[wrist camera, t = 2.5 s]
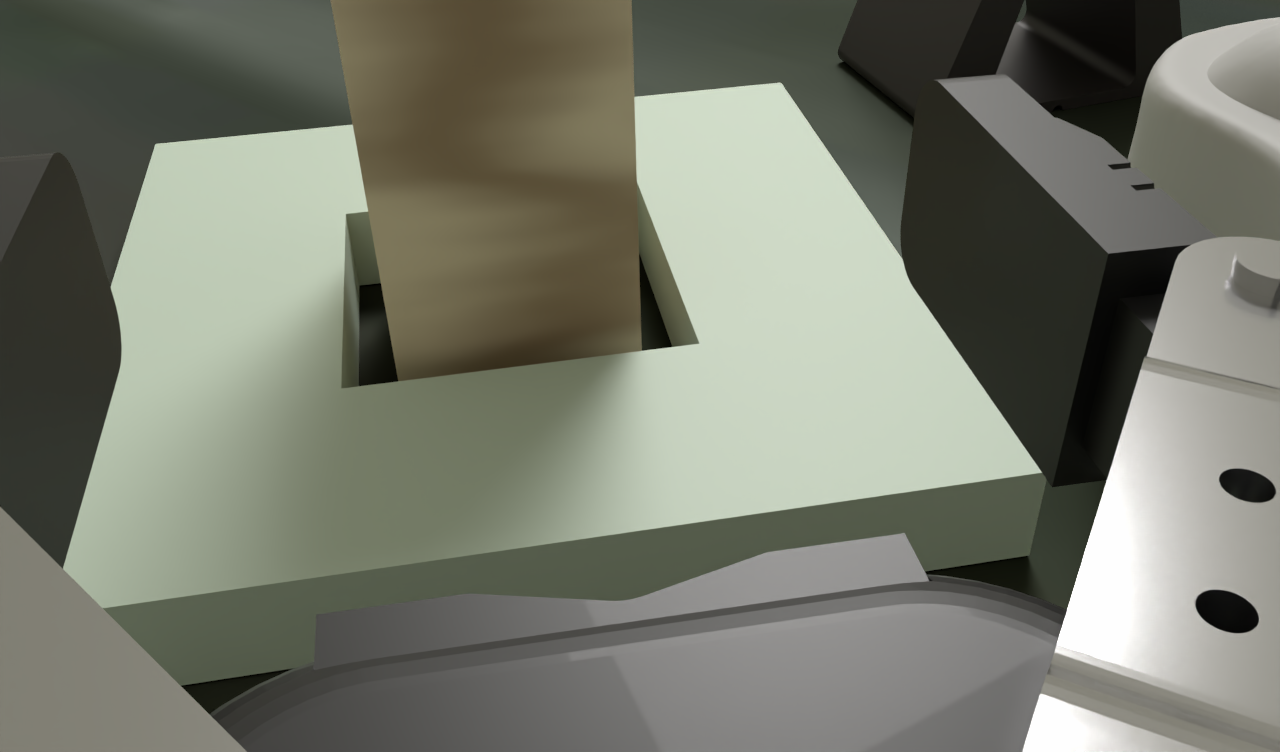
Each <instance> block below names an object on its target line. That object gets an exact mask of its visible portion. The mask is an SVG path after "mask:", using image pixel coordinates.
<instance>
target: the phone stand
mask: <svg viewBox="0 0 1280 752" xmlns="http://www.w3.org/2000/svg"><path fill="white" fill-rule="evenodd" d="M1023 1H1024V0H858V1H857V3H856V6H855V8H854V11H853V13H852V16H851V18H850V21H849V24H848V26H847V29H846V31H845V34H844V36H843V39H842V41H841V44H840V46H839V49H838V55H839V58H840V59H841V60H843V61H844V62H845V63H846V64H847V65H849V66H850V67H851V68H852V69H854V70H855V71H856V72H857V73H859V74H860V75H861V76H862V77H864V78H865V79H866V80H867V81H869V82H870V83H871V84H872V85H874V86H875V87H876V88H877V89H879V90H880V91H881V92H882V93H884V94H885V95H886V96H887V97H888V98H890V99H891V100H892V101H893V102H895V103H896V104H897V105H898V106H900V107H901V108H902V109H903V110H905V111H906V112H907V113H908V114H910V115H911V116H912V117H913V118H914V117H915V110H916V104H917V100H918V97H919V94H920V91H921V90H922V88H923V86H924V85H925V84H926V83H927V82H928V81H930V80H938V79H950V78H961V77H973V76H985V75H997V74H1004V75H1007V76H1008V77H1010V78H1011V79H1012V80H1013V81H1014V82H1015V83H1016V84H1017V85H1019V86H1020V87H1021V88H1022V89H1023V90H1024V91H1025V92H1026V93H1028V94H1029V95H1030V96H1031V97H1032V98H1033V99H1034V100H1035V101H1036V102H1038V103H1039V104H1040V105H1041V106H1042V107H1043V108H1044V109H1045V110H1047V111H1048V112H1049V113H1050V112H1052V111H1053V109H1054V108H1055V107H1056V106H1057V107H1059V108H1060V109H1062V110H1067V109H1072V108H1078V107H1083V106H1089V105H1095V104H1100V103H1106V102H1111V101H1117V100H1122V99H1128V98H1133V97H1139V96H1143V92H1144V89H1145V85H1146V82H1147V79H1148V77H1149V74H1150V72H1151V70H1152V68H1153V66H1154V65H1155V63H1156V61H1157V60H1158V59H1159V58H1160V57H1161V55H1162V54H1163V53H1164V52H1165V51H1166V50H1167V49H1168V48H1169V47H1170V46H1172V45H1173V44H1174V43H1176V42H1177V41H1179V40H1181V39H1182V32H1181V18H1180V4H1179V0H1026V6H1027V11H1026V14H1025V16H1024V18H1023V19H1022V20H1021V21H1020V22H1018V23H1015V22H1016V20H1017V17H1018V14H1019V12H1020V9H1021V7H1022V4H1023Z"/></svg>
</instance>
